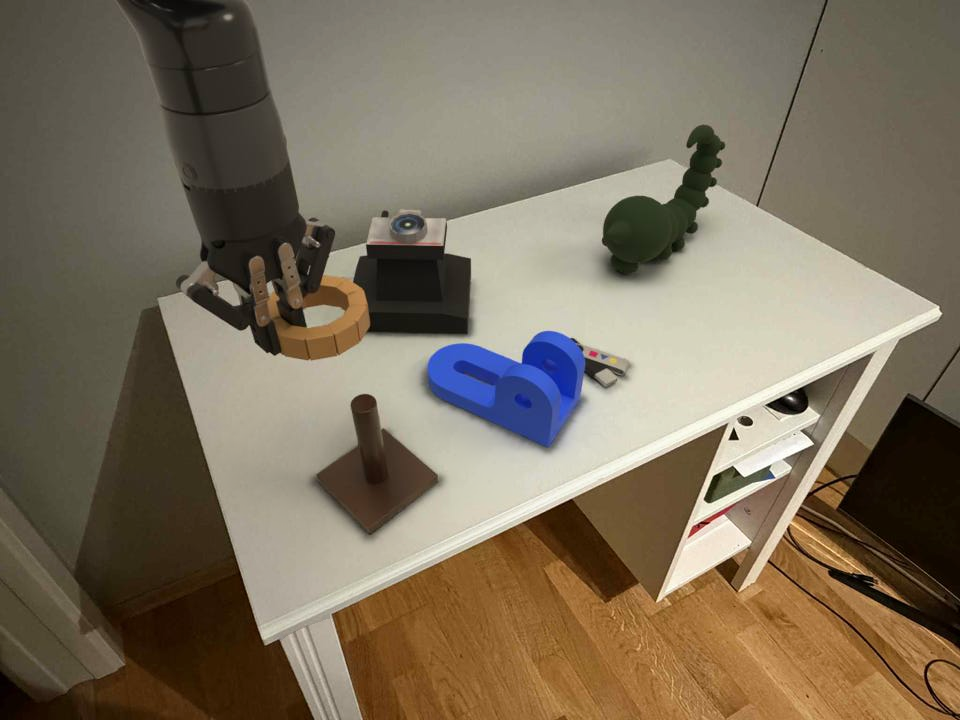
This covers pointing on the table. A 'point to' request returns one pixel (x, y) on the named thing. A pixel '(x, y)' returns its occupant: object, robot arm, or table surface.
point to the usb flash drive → (602, 364)
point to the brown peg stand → (375, 471)
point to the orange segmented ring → (325, 337)
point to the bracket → (513, 384)
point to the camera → (413, 276)
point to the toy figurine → (663, 210)
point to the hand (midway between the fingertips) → (283, 343)
